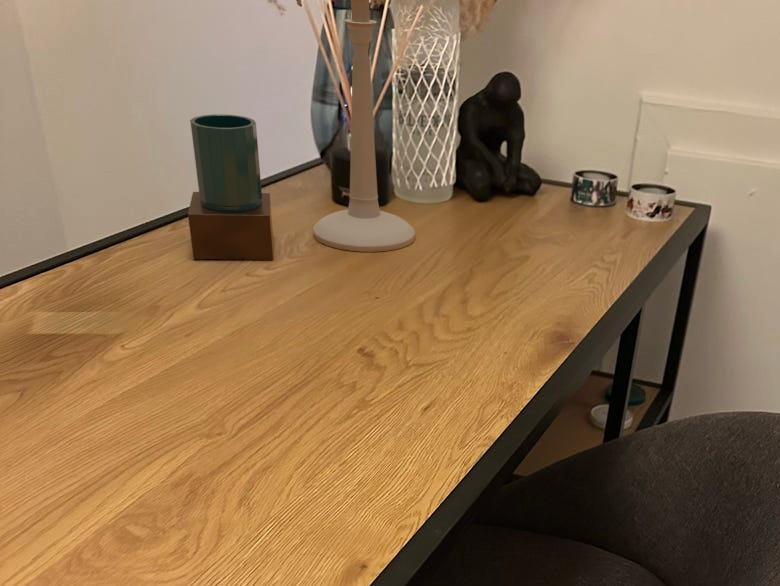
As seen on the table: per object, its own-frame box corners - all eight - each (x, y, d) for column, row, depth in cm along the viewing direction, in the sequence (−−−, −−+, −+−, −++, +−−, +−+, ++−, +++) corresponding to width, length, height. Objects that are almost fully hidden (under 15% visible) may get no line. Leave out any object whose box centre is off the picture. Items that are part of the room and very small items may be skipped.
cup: (191, 208, 106) (181, 125, 101) (211, 192, 112) (202, 112, 106) (252, 214, 106) (245, 131, 101) (269, 197, 112) (262, 117, 106)
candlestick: (349, 214, 125) (342, -66, 106) (433, 232, 121) (440, -55, 102) (292, 237, 116) (272, -64, 97) (380, 258, 112) (378, -52, 93)
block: (193, 259, 108) (187, 214, 105) (198, 235, 115) (192, 191, 112) (273, 260, 109) (269, 215, 106) (273, 236, 116) (269, 193, 113)
